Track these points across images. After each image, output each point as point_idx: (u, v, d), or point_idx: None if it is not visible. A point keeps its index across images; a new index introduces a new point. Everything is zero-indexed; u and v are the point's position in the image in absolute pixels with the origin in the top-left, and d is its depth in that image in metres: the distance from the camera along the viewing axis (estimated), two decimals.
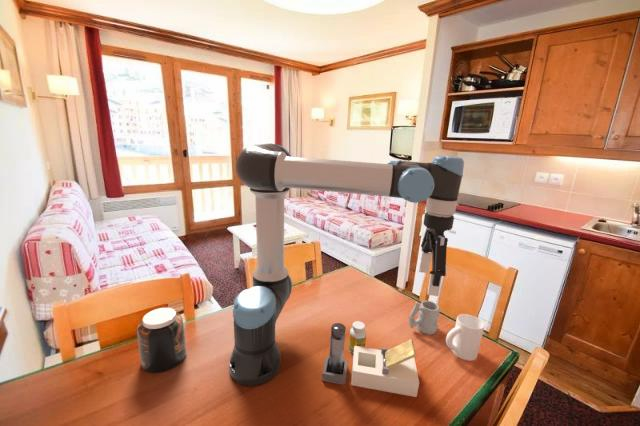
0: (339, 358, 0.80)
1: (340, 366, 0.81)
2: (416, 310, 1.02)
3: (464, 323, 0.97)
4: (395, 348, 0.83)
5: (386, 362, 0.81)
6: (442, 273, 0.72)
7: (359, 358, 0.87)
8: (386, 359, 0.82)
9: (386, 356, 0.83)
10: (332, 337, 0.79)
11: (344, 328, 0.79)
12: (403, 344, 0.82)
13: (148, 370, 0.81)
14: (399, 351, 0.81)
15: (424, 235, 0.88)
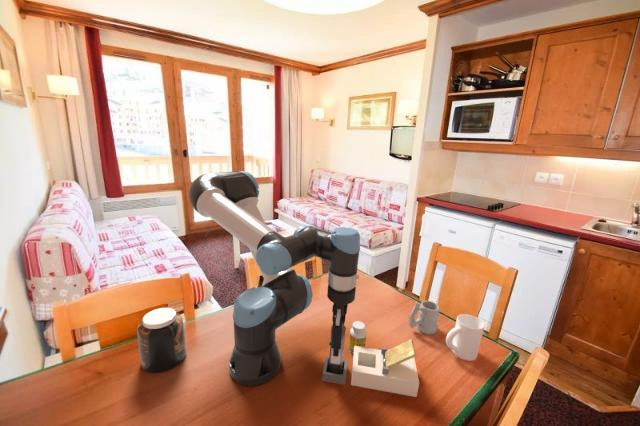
0: None
1: (340, 366, 0.81)
2: (416, 310, 1.02)
3: (464, 323, 0.97)
4: (395, 348, 0.83)
5: (386, 362, 0.81)
6: (337, 348, 0.75)
7: (359, 358, 0.87)
8: (386, 359, 0.82)
9: (386, 356, 0.83)
10: None
11: (344, 328, 0.79)
12: (403, 344, 0.82)
13: (148, 370, 0.81)
14: (399, 351, 0.81)
15: None
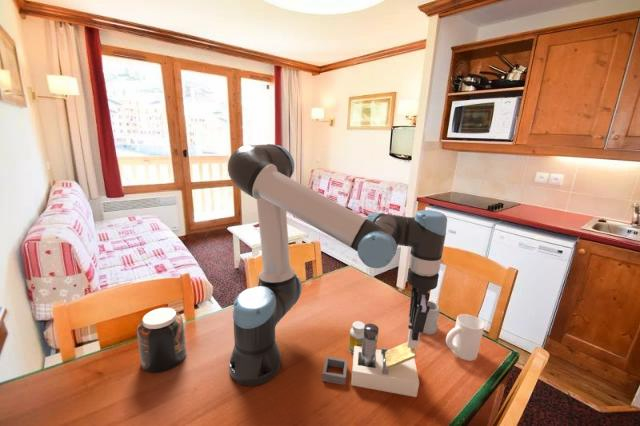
0: (371, 358, 0.81)
1: (372, 366, 0.82)
2: None
3: (464, 323, 0.97)
4: (396, 349, 0.83)
5: (386, 362, 0.81)
6: (419, 331, 0.74)
7: (359, 358, 0.87)
8: (386, 359, 0.82)
9: (386, 356, 0.83)
10: (365, 337, 0.80)
11: (377, 328, 0.80)
12: (403, 345, 0.82)
13: (148, 370, 0.81)
14: (399, 351, 0.81)
15: None
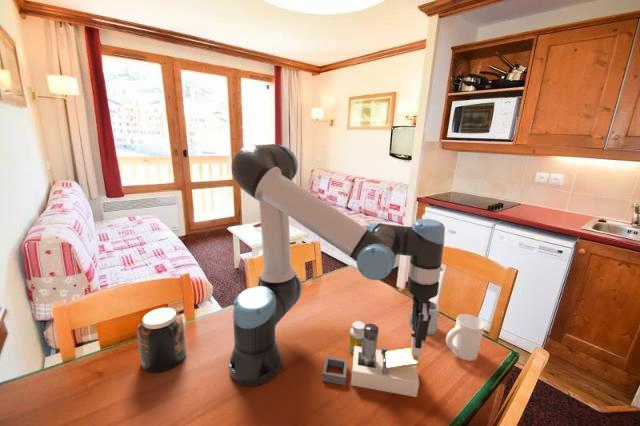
0: (371, 358, 0.81)
1: (372, 366, 0.82)
2: None
3: (464, 323, 0.97)
4: (398, 352, 0.83)
5: (387, 363, 0.81)
6: (422, 339, 0.74)
7: (359, 358, 0.87)
8: (387, 360, 0.82)
9: (387, 357, 0.83)
10: (365, 337, 0.80)
11: (377, 328, 0.80)
12: (406, 350, 0.83)
13: (148, 370, 0.81)
14: (402, 355, 0.81)
15: None
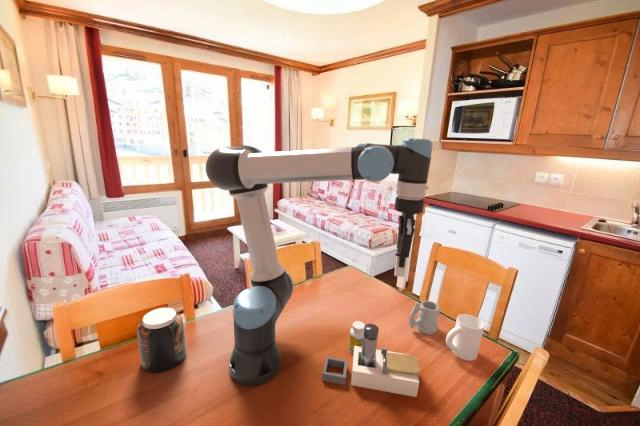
0: (371, 358, 0.81)
1: (372, 366, 0.82)
2: (416, 310, 1.02)
3: (464, 323, 0.97)
4: (399, 356, 0.83)
5: (387, 363, 0.81)
6: (405, 256, 0.78)
7: (359, 358, 0.87)
8: (387, 360, 0.82)
9: (387, 358, 0.83)
10: (365, 337, 0.80)
11: (377, 329, 0.80)
12: (408, 356, 0.83)
13: (148, 370, 0.81)
14: (403, 360, 0.82)
15: None
